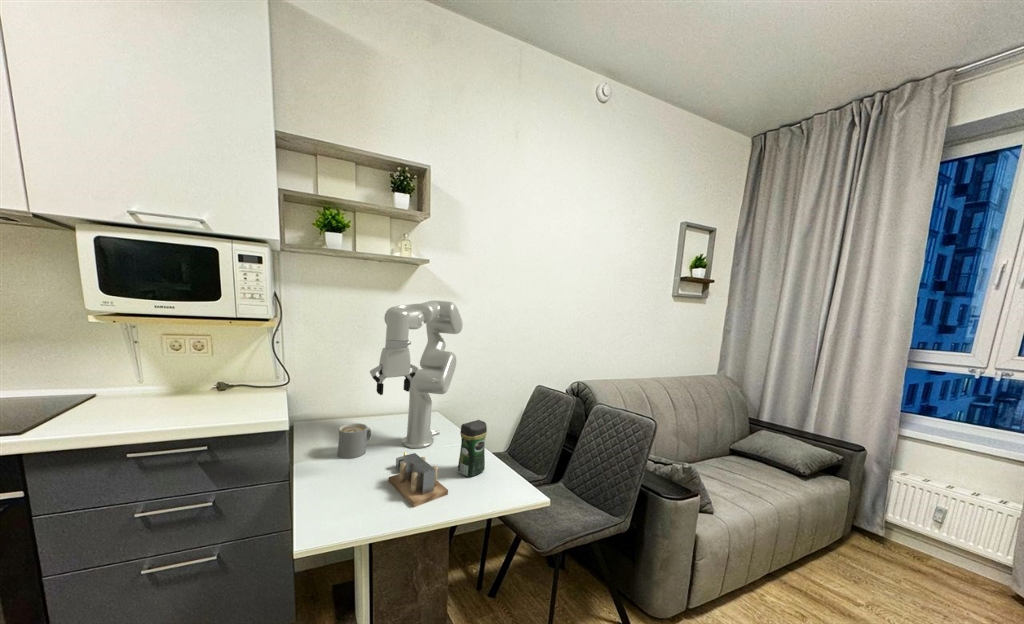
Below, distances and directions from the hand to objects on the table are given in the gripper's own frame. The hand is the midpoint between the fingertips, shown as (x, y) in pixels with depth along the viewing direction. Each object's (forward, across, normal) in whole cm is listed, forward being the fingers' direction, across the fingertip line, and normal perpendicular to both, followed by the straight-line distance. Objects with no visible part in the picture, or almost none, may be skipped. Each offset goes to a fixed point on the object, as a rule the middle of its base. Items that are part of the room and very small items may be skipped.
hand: (393, 392), depth 124 cm
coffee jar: (+28, -24, +17) cm, 41 cm away
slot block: (+28, -6, +2) cm, 29 cm away
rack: (+28, -3, +16) cm, 33 cm away
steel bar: (+27, -3, +16) cm, 31 cm away
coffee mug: (+28, +4, -21) cm, 36 cm away
